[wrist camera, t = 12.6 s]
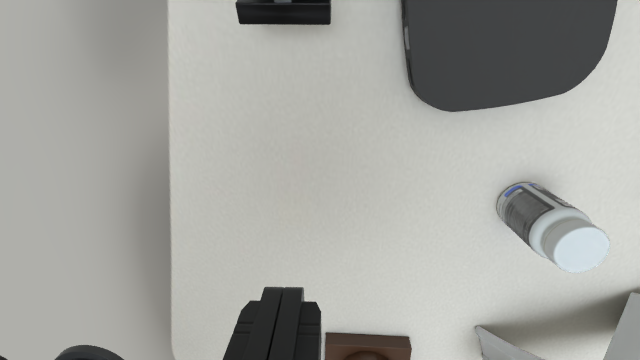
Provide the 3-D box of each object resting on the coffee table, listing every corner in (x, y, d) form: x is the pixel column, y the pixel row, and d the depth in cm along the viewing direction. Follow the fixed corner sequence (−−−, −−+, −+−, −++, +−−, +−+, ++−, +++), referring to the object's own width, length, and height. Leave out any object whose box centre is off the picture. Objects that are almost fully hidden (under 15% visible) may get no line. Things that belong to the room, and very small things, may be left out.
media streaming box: (581, 86, 27) (609, 89, 24) (409, 115, 29) (416, 121, 26) (603, -127, 22) (641, -154, 19) (393, -78, 24) (401, -96, 21)
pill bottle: (497, 229, 32) (549, 282, 25) (493, 187, 31) (546, 231, 23) (547, 218, 32) (616, 270, 24) (545, 176, 30) (618, 216, 22)
